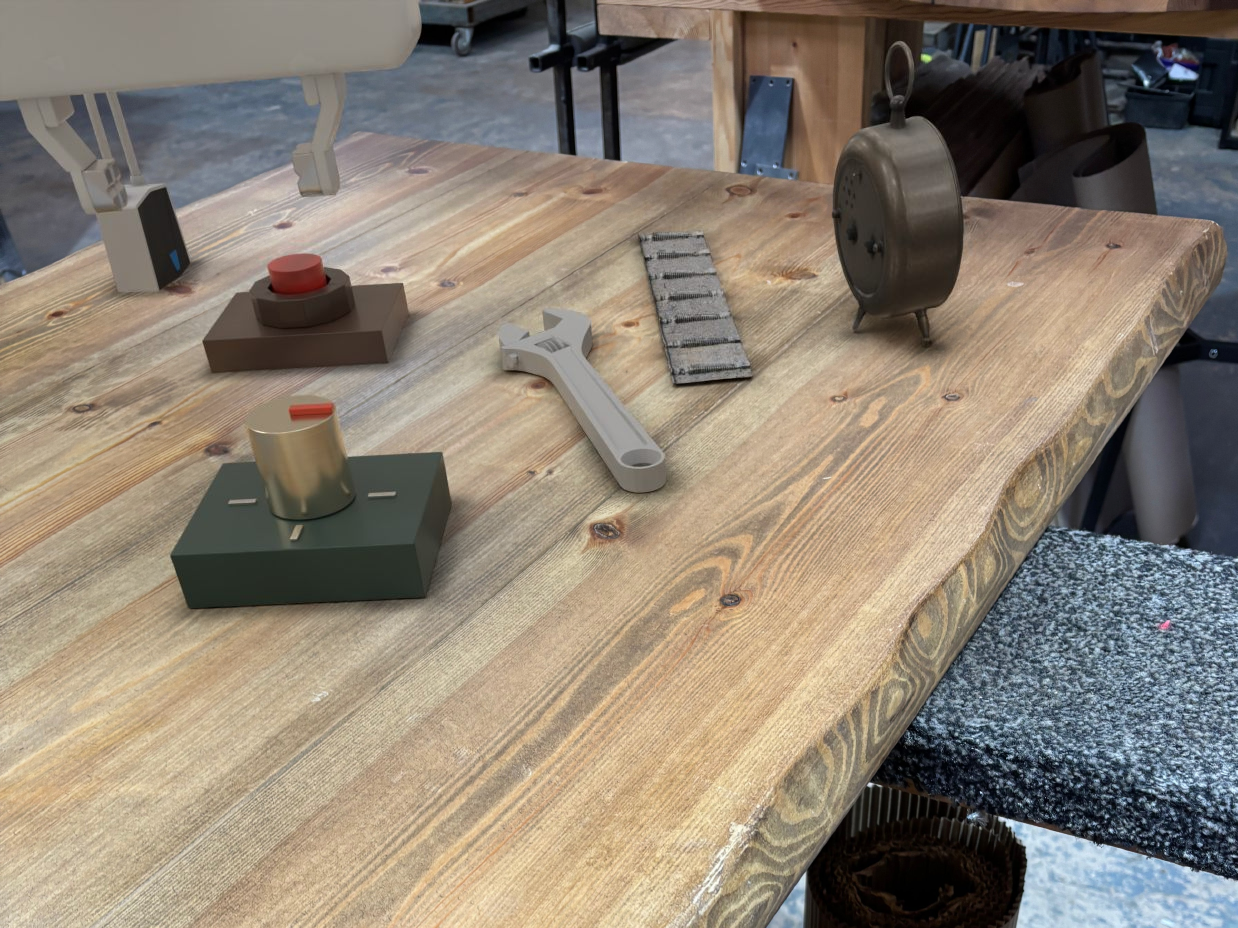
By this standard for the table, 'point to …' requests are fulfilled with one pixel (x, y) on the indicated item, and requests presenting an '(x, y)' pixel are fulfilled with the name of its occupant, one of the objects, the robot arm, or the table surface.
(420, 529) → the panel
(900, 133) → the alarm clock
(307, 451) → the knob
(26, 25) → the robot arm
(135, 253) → the padlock
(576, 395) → the adjustable wrench
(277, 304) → the button box
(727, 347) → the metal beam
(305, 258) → the button
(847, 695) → the table surface
